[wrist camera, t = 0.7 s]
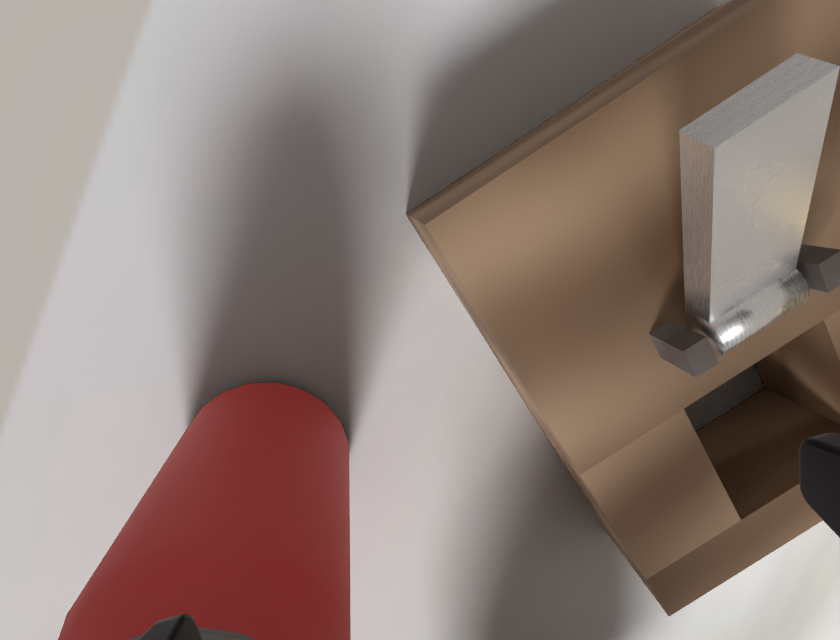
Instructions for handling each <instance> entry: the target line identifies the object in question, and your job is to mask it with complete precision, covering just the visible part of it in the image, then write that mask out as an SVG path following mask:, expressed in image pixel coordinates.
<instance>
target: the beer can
mask: <svg viewBox="0 0 840 640" xmlns="http://www.w3.org/2000/svg"><path fill="white" fill-rule="evenodd" d="M184 613H185V614H189V615H191V616H192V617H193V619H194V621H195V623H196V625H197V627H198V630H199V632H200V634H201V637H202V639H203V640H350V518H349V442H348V439H347V437H346V434H345V431H344V429H343V426H342V424H341V421H340V420H339V419H338V418H337V417H336V415H335V414H334V413H333V412H332V411H331V409H330V408H329V407H328V406H327V405H326V403H324V402H323V401H321V400H320V399H318V398H316V397H315V396H313V395H312V394H310V393H308V392H307V391H305V390H303V389H300V388H296V387H292V386H289V385H285V384H281V383H278V382H276V383H249V384H246V385H243V386H239V387H236V388H233V389H230V390H227V391H224V392H223V393H221V394H220V395H218V396H217V397H216V398H214V399H213V400H211V401H210V402H209V403H207V404H206V405H204V406H203V407H202V408H201V410H200V411H199V412H198V414H197V415H196V417H195V418H194V419H193V421H192V422H191V424H190V425H189V426H188V428H187V429H186V431H185V432H184V434H183V436H182V437H181V439H180V440H179V442H178V443H177V445H176V446H175V448H174V449H173V451H172V453H171V454H170V456H169V457H168V459H167V460H166V462H165V463H164V465H163V466H162V468H161V470H160V471H159V473H158V474H157V476H156V477H155V479H154V480H153V482H152V484H151V485H150V487H149V488H148V490H147V491H146V493H145V494H144V496H143V497H142V499H141V501H140V502H139V504H138V505H137V507H136V508H135V510H134V511H133V513H132V515H131V516H130V518H129V519H128V521H127V522H126V524H125V525H124V527H123V528H122V530H121V532H120V533H119V535H118V536H117V538H116V539H115V541H114V542H113V544H112V546H111V547H110V549H109V550H108V552H107V553H106V555H105V556H104V558H103V559H102V561H101V563H100V564H99V566H98V567H97V569H96V570H95V572H94V573H93V575H92V577H91V578H90V580H89V581H88V583H87V584H86V586H85V587H84V589H83V590H82V592H81V594H80V595H79V597H78V598H77V600H76V601H75V603H74V604H73V606H72V607H71V609H70V611H69V612H68V614H67V616H66V619H65V622H64V625H63V627H62V630H61V633H60V636H59V639H58V640H139V639H140V638H141V637H142V636H143V635H144V634H145V633H146V632H147V631H148V630H149V629H150V628H151V626H153V625H154V624H155V623H156V622H158V621H160V620H162V619H165V618H169V617H173V616H176V615H180V614H184Z"/></svg>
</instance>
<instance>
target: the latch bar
mask: <svg viewBox="0 0 840 640" xmlns="http://www.w3.org/2000/svg"><path fill="white" fill-rule="evenodd" d="M839 69H840V66H838V65H835V64H831V63H828V62H825V61H822V60H818V59H815V58H812V57H808V56H805V55H802V54H798V53H796V54H794V55H793V56H791V57H790V58H788V59H787V60H785V61H784V62H782V63H781V64H779V65H778V66H776V67H775V68H773V69H772V70H770V71H769V72H767V73H766V74H764V75H763V76H761V77H759V78H758V79H756V80H755V81H753V82H752V83H750V84H749V85H747V86H746V87H744V88H743V89H741V90H740V91H738V92H737V93H735V94H734V95H732V96H731V97H729V98H728V99H726V100H724V101H723V102H721V103H720V104H718V105H717V106H715V107H714V108H712V109H711V110H709V111H708V112H706V113H705V114H703V115H702V116H700V117H699V118H697V119H696V120H694V121H693V122H691V123H689V124H688V125H686V126H685V127H683V128H682V129H680V130H679V138H680V169H681V201H682V232H683V263H684V294H685V313H686V316H685V320H686V324H687V326H688V328H689V329H690V330H692V331H695V332H697V333H699V334H702V335H704V336H706V337H707V339H708V341H709V343H710V345H711V347H712V349H713V351H714V354H715V355H723V354H724V353H726V352H727V351H729V350H731V349H732V348H734V347H735V346H737V345H738V344H740V343H741V342H743V341H745V340H746V339H748V338H749V337H751V336H752V335H754V334H756V333H757V332H759V331H760V330H762V329H763V328H765V327H766V326H768V325H770V324H771V323H773V322H774V321H776V320H777V319H779V318H781V317H782V316H784V315H785V314H787V313H788V312H790V311H791V310H793V309H795V308H796V307H798V306H799V305H801V304H802V303H804V302H806V301H807V300H808V299H809V297H810V288H809V285H808V283H807V281H806V280H805V278H804V277H803V275H802V274H801V273H800V272H799V271H798V270H797V269H796V265H797V261H798V256H799V252H800V247H801V243H802V238H803V233H804V229H805V224H806V220H807V215H808V211H809V206H810V201H811V197H812V192H813V188H814V183H815V178H816V174H817V169H818V165H819V160H820V156H821V151H822V146H823V142H824V137H825V133H826V128H827V124H828V119H829V114H830V110H831V105H832V101H833V96H834V92H835V87H836V82H837V78H838V73H839Z"/></svg>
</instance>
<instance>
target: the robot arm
mask: <svg viewBox="0 0 840 640" xmlns="http://www.w3.org/2000/svg"><path fill="white" fill-rule="evenodd" d="M799 481H800V490H801V493H802V495H803V497H804V499H805V501H806V502H807V504H808V505H809V506H810V507H811V508H812V509H813V510H814V511H815V512H816V513H817V514H818V515H819V516H820V518H821V519H822V520H823V521H824V522H825V523H826V524H827V525H828V526H829V527H830V528H831V529H832V530H833V531H834V532H835V533H836V534H837V535H838V536H839V537H840V434H838V433H825V434H821V435H818V436H814V437H810V438H807V439H805V440H804V441H802V443H801V445H800V447H799ZM139 640H203V639H202V637H201V634H200V632H199V630H198V627H197V625H196V623H195V621H194V619H193V617H192V616H191V615H189V614H185V613H184V614H180V615H176V616H173V617H169V618H165V619H162V620H160V621H158V622H156V623H155V624H154V625H153V626H151V628H150V629H149V630H148V631H147V632H146V633H145V634H144V635H143V636H142V637H141V638H140V639H139Z"/></svg>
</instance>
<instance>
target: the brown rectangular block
mask: <svg viewBox="0 0 840 640" xmlns="http://www.w3.org/2000/svg"><path fill="white" fill-rule="evenodd" d="M796 53H798V54H802V55H805V56H808V57H812V58H815V59H818V60H822V61H825V62H828V63H831V64H835V65H838V66H840V0H732V1H729V2H727V3H725V4H723V5H721V6H719V7H717V8H716V9H714V10H713V11H711V12H710V13H708V14H707V15H705V16H704V17H702V18H701V19H699V20H698V21H696V22H695V23H693V24H692V25H690V26H689V27H687V28H686V29H684V30H683V31H681V32H680V33H678V34H677V35H675V36H674V37H672V38H671V39H669V40H667V41H666V42H664V43H663V44H661V45H660V46H658V47H657V48H655V49H654V50H652V51H651V52H649V53H648V54H646V55H645V56H643V57H642V58H640V59H639V60H637V61H636V62H634V63H633V64H631V65H630V66H628V67H627V68H625V69H624V70H622V71H621V72H619V73H618V74H616V75H615V76H613V77H612V78H610V79H609V80H607V81H606V82H604V83H603V84H601V85H600V86H598V87H597V88H595V89H594V90H592V91H591V92H589V93H588V94H586V95H585V96H583V97H582V98H580V99H579V100H577V101H576V102H574V103H573V104H571V105H570V106H568V107H567V108H565V109H564V110H562V111H561V112H559V113H558V114H556V115H554V116H553V117H551V118H550V119H548V120H547V121H545V122H544V123H542V124H541V125H539V126H538V127H536V128H535V129H533V130H532V131H530V132H529V133H527V134H526V135H524V136H523V137H521V138H520V139H518V140H517V141H515V142H514V143H512V144H511V145H509V146H508V147H506V148H505V149H503V150H502V151H500V152H499V153H497V154H496V155H494V156H493V157H491V158H490V159H488V160H487V161H485V162H484V163H482V164H481V165H479V166H478V167H476V168H475V169H473V170H472V171H470V172H469V173H467V174H466V175H464V176H463V177H461V178H460V179H458V180H457V181H455V182H454V183H452V184H451V185H449V186H448V187H446V188H445V189H443V190H441V191H440V192H438V193H437V194H435V195H434V196H432V197H431V198H429V199H428V200H426V201H425V202H423V203H422V204H420V205H419V206H417V207H416V208H414V209H413V210H411V211H410V212H408V213H407V214H406V215H407V217H408V218H409V220H410V221H411V223H412V225H413V226H414V228H415V229H416V231H417V232H418V234H419V236H420V237H421V239H422V240H423V242H424V244H425V245H426V247H427V248H428V250H429V251H430V253H431V255H432V256H433V258H434V259H435V261H436V263H437V264H438V266H439V267H440V269H441V271H442V272H443V274H444V275H445V277H446V278H447V280H448V282H449V283H450V285H451V286H452V288H453V290H454V291H455V293H456V294H457V296H458V297H459V299H460V301H461V302H462V304H463V305H464V307H465V309H466V310H467V312H468V313H469V315H470V316H471V318H472V320H473V321H474V323H475V324H476V326H477V328H478V329H479V331H480V332H481V334H482V335H483V337H484V339H485V340H486V342H487V343H488V345H489V347H490V348H491V350H492V351H493V353H494V354H495V356H496V358H497V359H498V361H499V362H500V364H501V366H502V367H503V369H504V370H505V372H506V373H507V375H508V377H509V378H510V380H511V381H512V383H513V385H514V386H515V388H516V389H517V391H518V392H519V394H520V396H521V397H522V399H523V400H524V402H525V404H526V405H527V407H528V408H529V410H530V411H531V413H532V415H533V416H534V418H535V419H536V421H537V423H538V424H539V426H540V427H541V429H542V430H543V432H544V434H545V435H546V437H547V438H548V440H549V442H550V443H551V445H552V446H553V448H554V449H555V451H556V453H557V454H558V456H559V457H560V459H561V461H562V462H563V464H564V465H565V467H566V468H567V470H568V472H569V473H570V475H571V476H572V478H573V480H574V481H575V483H576V484H577V486H578V487H579V489H580V491H581V492H582V494H583V495H584V497H585V499H586V500H587V502H588V503H589V505H590V506H591V508H592V510H593V511H594V513H595V514H596V516H597V518H598V519H599V521H600V522H601V524H602V525H603V527H604V529H605V530H606V532H607V533H608V535H609V536H610V537H611V539H612V540H613V541H614V543H615V544H616V545H617V547H618V548H619V550H620V551H621V552H622V554H623V555H624V556H625V558H626V559H627V560H628V562H629V563H630V564H631V566H632V567H633V568H634V570H635V571H636V573H637V574H638V575H639V577H640V578H641V579H642V581H643V582H644V583H645V585H646V586H647V587H648V589H649V590H650V591H651V593H652V594H653V596H654V597H655V598H656V600H657V601H658V602H659V604H660V605H661V606H662V608H663V609H664V610H665V612H666V613H667V614H668V616H670V615H672V614H674V613H675V612H677V611H678V610H680V609H682V608H683V607H685V606H686V605H688V604H690V603H691V602H693V601H694V600H696V599H698V598H699V597H701V596H702V595H704V594H706V593H707V592H709V591H710V590H712V589H714V588H715V587H717V586H718V585H720V584H722V583H723V582H725V581H726V580H728V579H730V578H731V577H733V576H734V575H736V574H738V573H739V572H741V571H742V570H744V569H746V568H747V567H749V566H750V565H752V564H754V563H755V562H757V561H758V560H760V559H762V558H763V557H765V556H766V555H768V554H770V553H771V552H773V551H774V550H776V549H778V548H779V547H781V546H782V545H784V544H786V543H787V542H789V541H790V540H792V539H794V538H795V537H797V536H798V535H800V534H802V533H803V532H805V531H806V530H808V529H810V528H811V527H813V526H814V525H816V524H818V523H819V522H821V521H822V519H821V518H820V516H819V515H818V514H817V513H816V512H815V511H814V510H813V509H812V508H811V507H810V506H809V505H808V504H807V502H806V501H805V499H804V497H803V495H802V493H801V490H800V481H799V447H800V445H801V443H802V441H804V440H805V439H807V438H810V437H814V436H818V435H821V434H825V433H838V434H840V69H839V73H838V78H837V82H836V87H835V92H834V96H833V101H832V105H831V110H830V114H829V119H828V124H827V128H826V133H825V137H824V142H823V146H822V151H821V156H820V160H819V165H818V169H817V174H816V178H815V183H814V188H813V192H812V197H811V201H810V206H809V211H808V215H807V220H806V224H805V229H804V233H803V238H802V243H801V247H800V252H799V256H798V261H797V265H796V269H797V270H798V271H799V272H800V273H801V274H802V275H803V277H804V278H805V280H806V281H807V283H808V285H809V288H810V297H809V299H808V300H807V301H806V302H804V303H802V304H801V305H799V306H798V307H796V308H795V309H793V310H791V311H790V312H788V313H787V314H785V315H784V316H782V317H781V318H779V319H777V320H776V321H774V322H773V323H771V324H770V325H768V326H766V327H765V328H763V329H762V330H760V331H759V332H757V333H756V334H754V335H752V336H751V337H749V338H748V339H746V340H745V341H743V342H741V343H740V344H738V345H737V346H735V347H734V348H732V349H731V350H729V351H727V352H726V353H724V354H723V355H715V354H714V351H713V349H712V347H711V345H710V343H709V341H708V339H707V337H706V336H704V335H702V334H699V333H697V332H695V331H692V330H690V329H689V328H688V326H687V324H686V320H685V316H686V313H685V294H684V263H683V232H682V201H681V169H680V138H679V130H680V129H682V128H683V127H685V126H686V125H688V124H689V123H691V122H693V121H694V120H696V119H697V118H699V117H700V116H702V115H703V114H705V113H706V112H708V111H709V110H711V109H712V108H714V107H715V106H717V105H718V104H720V103H721V102H723V101H724V100H726V99H728V98H729V97H731V96H732V95H734V94H735V93H737V92H738V91H740V90H741V89H743V88H744V87H746V86H747V85H749V84H750V83H752V82H753V81H755V80H756V79H758V78H759V77H761V76H763V75H764V74H766V73H767V72H769V71H770V70H772V69H773V68H775V67H776V66H778V65H779V64H781V63H782V62H784V61H785V60H787V59H788V58H790V57H791V56H793V55H794V54H796ZM753 364H755V366H756V368H757V370H758V372H759V375H760V377H761V379H762V381H763V384H764V386H765V388H764V389H763V390H761V391H760V392H758V393H757V394H755V395H753V396H752V397H750V398H749V399H747V400H745V401H744V402H742V403H741V404H739V405H738V406H736V407H734V408H733V409H731V410H730V411H728V412H727V413H725V414H723V415H722V416H720V417H719V418H717V419H716V420H714V421H712V422H711V423H709V424H708V425H706V426H705V427H703V428H701V429H700V430H698V431H697V432H695V430H694V428H693V426H692V424H691V422H690V420H689V418H688V416H687V414H686V412H685V410H684V409H685V408H686V407H688V406H689V405H691V404H692V403H694V402H696V401H697V400H699V399H700V398H702V397H703V396H705V395H706V394H708V393H710V392H711V391H713V390H714V389H716V388H717V387H719V386H721V385H722V384H724V383H725V382H727V381H728V380H730V379H732V378H733V377H735V376H736V375H738V374H739V373H741V372H743V371H744V370H746V369H747V368H749V367H750V366H752V365H753Z"/></svg>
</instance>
